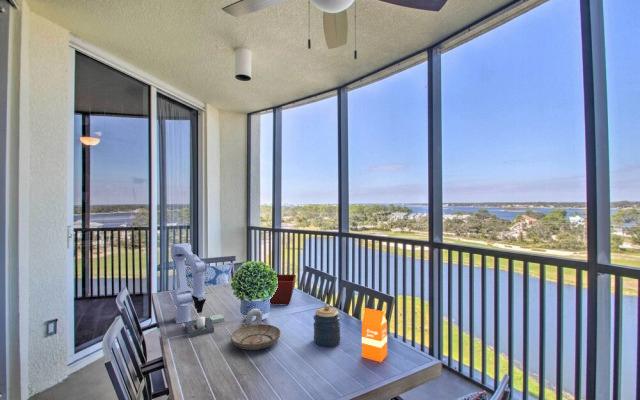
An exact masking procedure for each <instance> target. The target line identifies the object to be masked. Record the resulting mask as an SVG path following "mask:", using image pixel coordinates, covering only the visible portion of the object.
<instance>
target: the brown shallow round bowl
mask: <svg viewBox="0 0 640 400" xmlns="http://www.w3.org/2000/svg"><path fill="white" fill-rule="evenodd" d="M280 337H281V329H280V328H279V327H277V326H275V325H271V324H267V323H266V324H264V323H260V324H258V325H250V326H247V325H245V326H242V327H239V328H238V329H235V331H233V332H232V333H231V336H230V340H231V341H230V342H232V344H233V345H234V346H236V347H237V348H239V349H243V350H249V351H253V350H254V351H255V350H262V349H265V348H268V347H269V346H271V345H273V344H275V343H276V342H277V341H278V340H279V338H280Z"/></svg>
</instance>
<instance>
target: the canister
mask: <svg viewBox="0 0 640 400" xmlns="http://www.w3.org/2000/svg"><path fill="white" fill-rule="evenodd" d="M314 313H315V314H314V315H313V319H314V322H313V342H314V344H315V345H317V346H318V347H321V348H334V347H336V346H338V345H340V343H341V322H340V320H341V316H340V315H339V311H338V310H337V309H336V308H334V307H330V305H329V304H325V305H324V306H323V307H319V308H318V309H317V310H315V312H314Z"/></svg>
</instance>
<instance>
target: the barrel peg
mask: <svg viewBox="0 0 640 400" xmlns="http://www.w3.org/2000/svg"><path fill="white" fill-rule="evenodd" d="M205 318H206V316H204V315H203V316H202V315H201V316H197V318H196V320H197V329H200V328H205Z"/></svg>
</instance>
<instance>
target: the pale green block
mask: <svg viewBox="0 0 640 400" xmlns="http://www.w3.org/2000/svg"><path fill="white" fill-rule="evenodd" d="M208 318H209V319H210V321H211V323H212V325H213V324H218V323H224V322H225V317H224V315H223V314H222V313H220V314H219V313H218V314H216V315H215V314H214V315H209V317H208Z"/></svg>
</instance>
